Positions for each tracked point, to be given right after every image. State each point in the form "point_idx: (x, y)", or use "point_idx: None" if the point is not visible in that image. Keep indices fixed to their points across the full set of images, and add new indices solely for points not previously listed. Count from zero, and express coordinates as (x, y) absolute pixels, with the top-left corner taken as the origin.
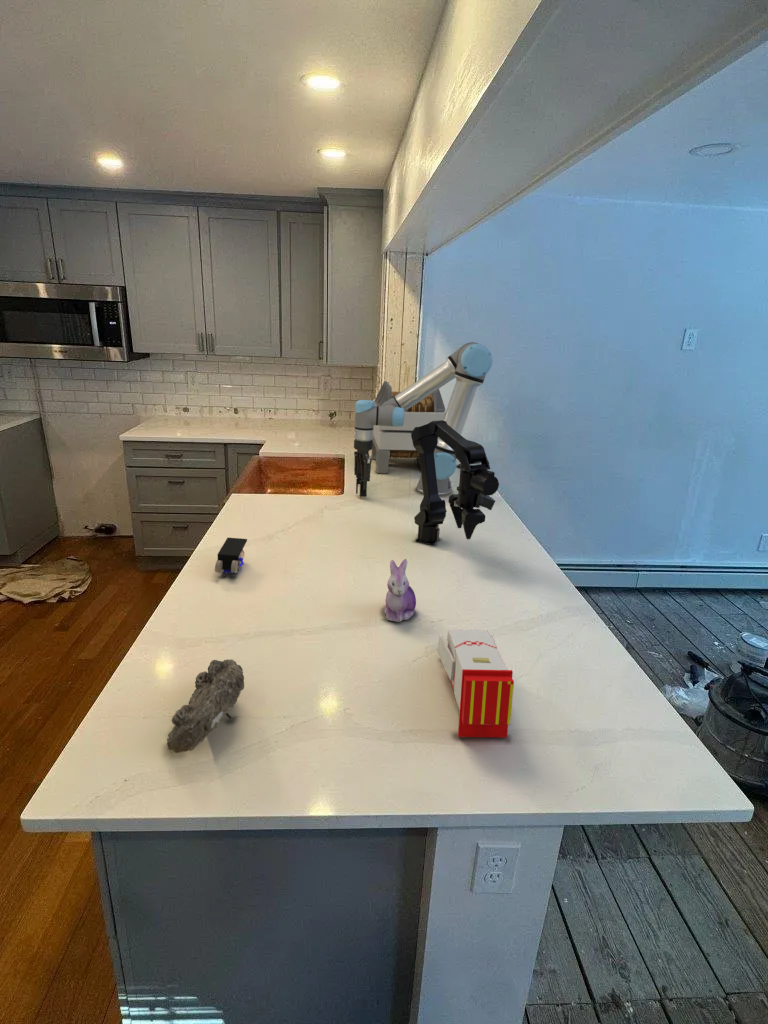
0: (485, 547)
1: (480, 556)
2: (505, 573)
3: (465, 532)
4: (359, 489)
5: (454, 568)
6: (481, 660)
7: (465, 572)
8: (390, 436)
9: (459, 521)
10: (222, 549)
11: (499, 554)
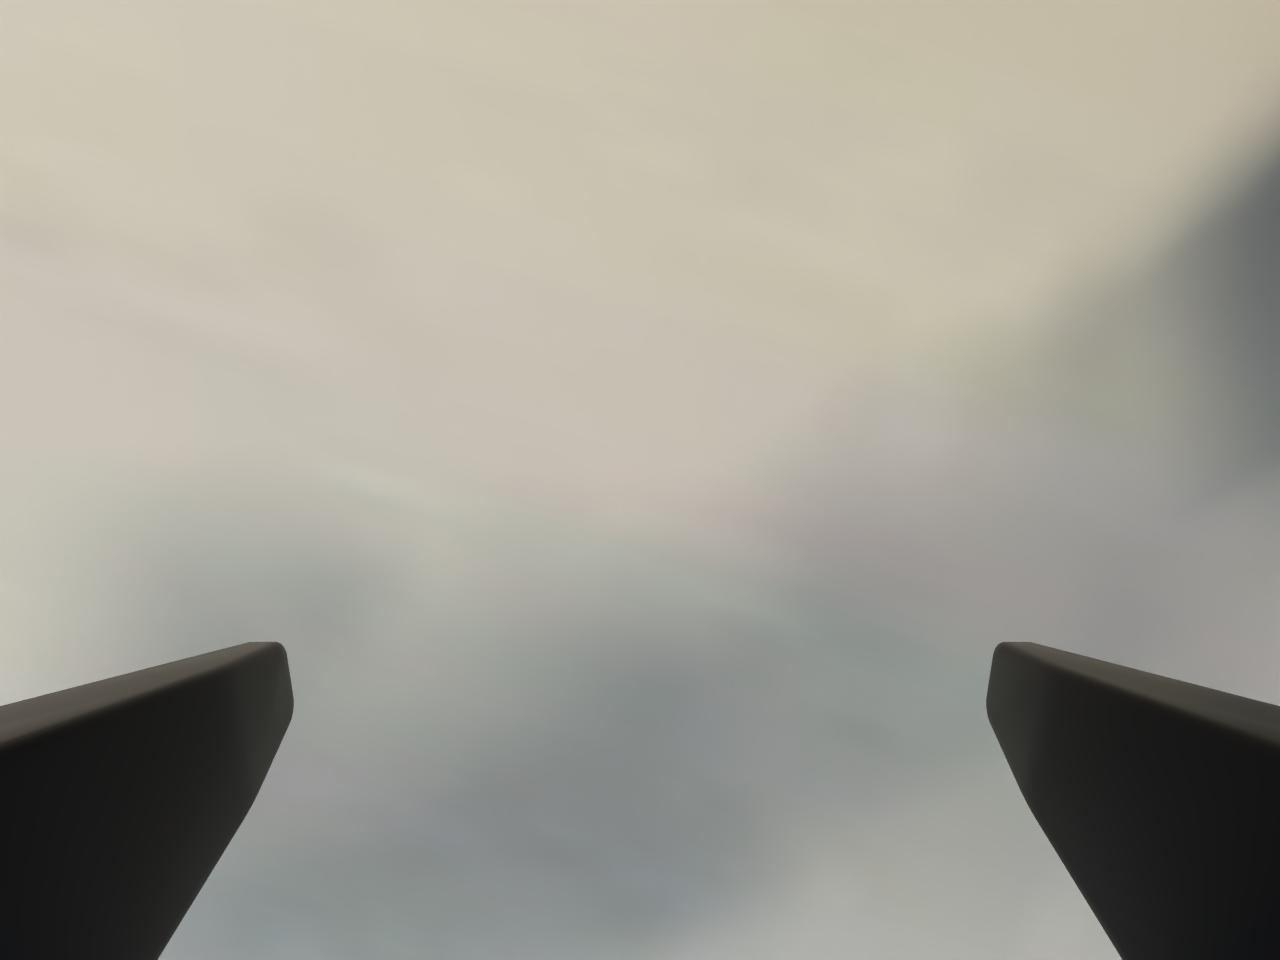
0: (1031, 856)
1: (781, 727)
2: (301, 841)
3: (39, 699)
4: None
5: (430, 288)
6: None
7: (305, 405)
8: None
9: (1085, 780)
10: None
11: (806, 933)
